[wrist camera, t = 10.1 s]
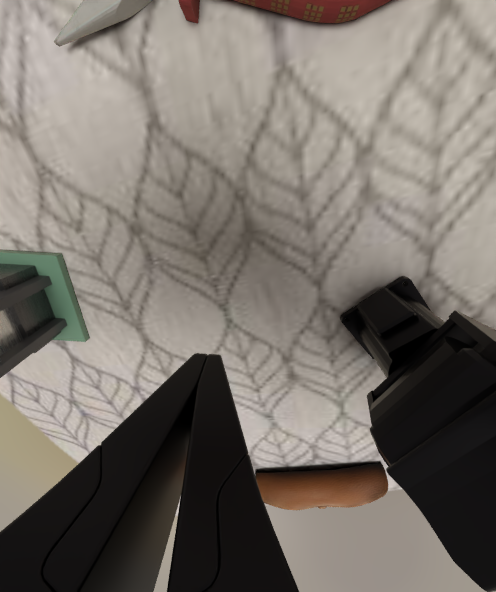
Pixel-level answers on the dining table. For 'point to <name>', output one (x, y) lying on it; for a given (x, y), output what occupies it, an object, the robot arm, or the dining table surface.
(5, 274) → the heat sink
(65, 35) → the pliers
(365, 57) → the dining table surface
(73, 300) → the socket board
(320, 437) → the dining table surface
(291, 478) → the sunglasses case
